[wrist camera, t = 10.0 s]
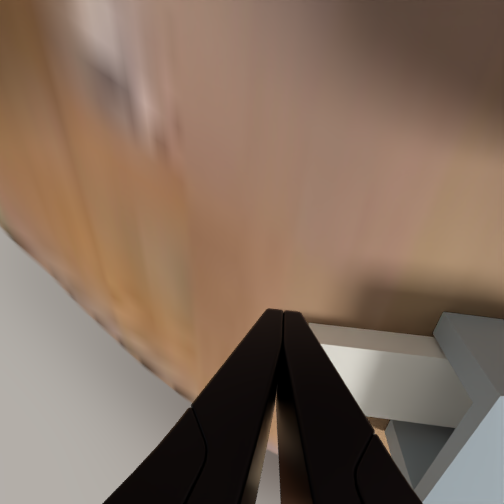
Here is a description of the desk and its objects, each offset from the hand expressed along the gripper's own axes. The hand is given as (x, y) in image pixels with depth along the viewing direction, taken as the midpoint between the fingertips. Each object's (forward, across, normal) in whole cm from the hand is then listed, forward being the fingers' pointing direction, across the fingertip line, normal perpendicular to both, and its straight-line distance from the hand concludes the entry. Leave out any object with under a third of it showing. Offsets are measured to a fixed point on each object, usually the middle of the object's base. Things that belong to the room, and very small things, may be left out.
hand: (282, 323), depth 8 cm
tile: (+12, -9, +14) cm, 21 cm away
